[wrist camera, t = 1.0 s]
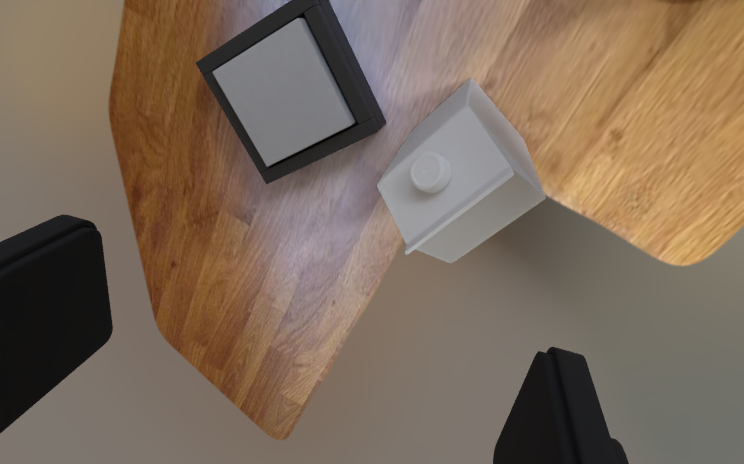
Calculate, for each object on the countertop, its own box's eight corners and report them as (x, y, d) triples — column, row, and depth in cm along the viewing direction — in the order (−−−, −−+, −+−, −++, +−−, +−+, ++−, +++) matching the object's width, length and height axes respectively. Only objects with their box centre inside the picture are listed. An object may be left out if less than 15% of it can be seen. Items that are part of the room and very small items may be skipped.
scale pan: (305, 17, 35) (298, 17, 34) (356, 121, 38) (351, 125, 37) (221, 70, 39) (211, 72, 37) (273, 162, 41) (266, 167, 40)
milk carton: (524, 138, 39) (558, 226, 22) (460, 188, 42) (447, 298, 25) (471, 76, 38) (464, 117, 21) (409, 132, 41) (360, 207, 24)
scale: (324, -9, 37) (308, -12, 34) (386, 122, 41) (378, 132, 37) (218, 59, 42) (194, 62, 38) (282, 172, 45) (266, 185, 42)
